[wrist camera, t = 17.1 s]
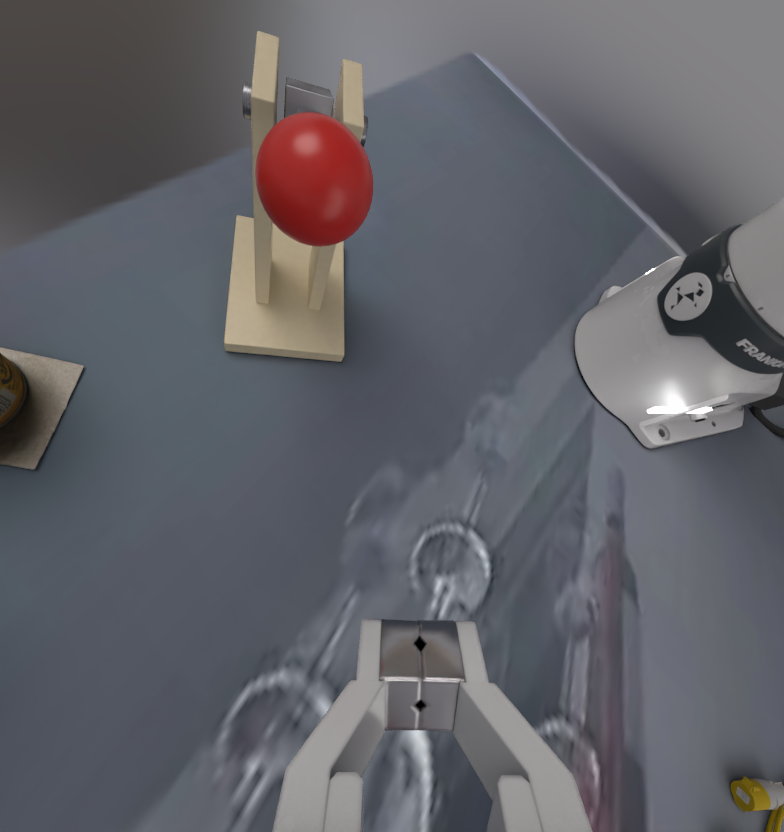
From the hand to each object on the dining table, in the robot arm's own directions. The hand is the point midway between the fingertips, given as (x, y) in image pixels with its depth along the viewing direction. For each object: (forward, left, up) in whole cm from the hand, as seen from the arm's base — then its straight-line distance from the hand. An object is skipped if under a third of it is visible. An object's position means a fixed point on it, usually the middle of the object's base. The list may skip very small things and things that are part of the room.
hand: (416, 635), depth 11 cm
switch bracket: (+3, -23, -18) cm, 30 cm away
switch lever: (+3, -17, -3) cm, 18 cm away
